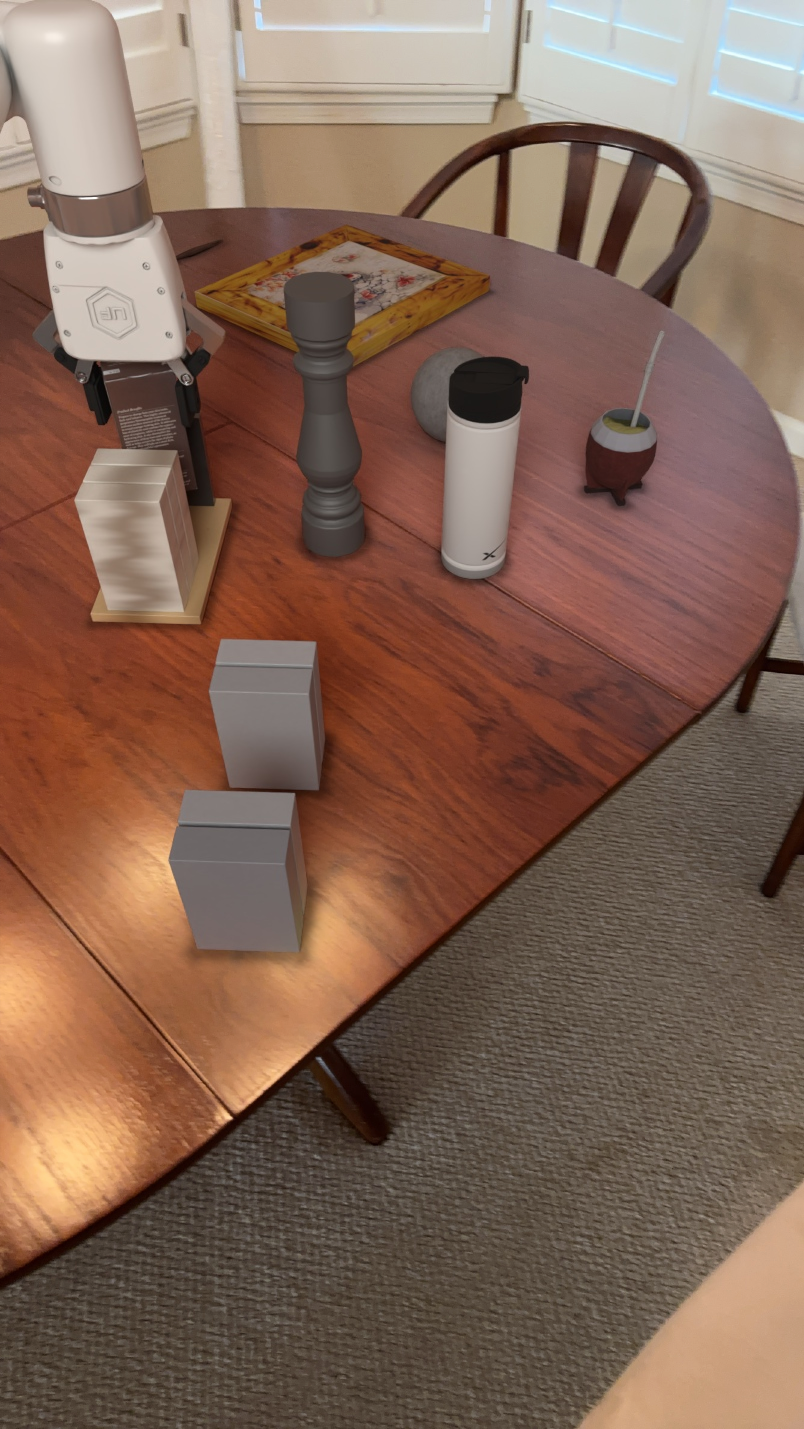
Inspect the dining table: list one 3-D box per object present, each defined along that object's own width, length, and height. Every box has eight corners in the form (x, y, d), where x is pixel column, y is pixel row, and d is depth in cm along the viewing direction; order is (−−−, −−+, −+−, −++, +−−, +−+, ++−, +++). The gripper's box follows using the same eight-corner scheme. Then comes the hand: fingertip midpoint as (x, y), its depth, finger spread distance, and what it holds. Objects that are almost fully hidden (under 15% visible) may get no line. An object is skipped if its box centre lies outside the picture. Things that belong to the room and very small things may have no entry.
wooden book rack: (92, 621, 86) (53, 503, 76) (136, 503, 98) (108, 388, 88) (201, 624, 86) (176, 506, 76) (232, 506, 98) (214, 390, 88)
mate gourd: (590, 511, 97) (615, 375, 86) (569, 468, 103) (590, 335, 91) (659, 504, 98) (693, 369, 87) (635, 462, 103) (664, 329, 92)
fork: (229, 245, 142) (227, 231, 140) (142, 278, 134) (139, 264, 132) (218, 240, 143) (216, 226, 141) (131, 273, 135) (128, 258, 134)
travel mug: (504, 584, 90) (526, 390, 75) (436, 576, 90) (444, 382, 75) (511, 544, 94) (532, 352, 79) (445, 536, 94) (454, 345, 80)
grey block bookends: (197, 949, 64) (167, 860, 56) (239, 736, 77) (220, 638, 69) (299, 953, 64) (285, 864, 56) (325, 738, 77) (316, 640, 68)
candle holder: (360, 515, 97) (351, 267, 78) (369, 553, 93) (362, 301, 74) (300, 521, 96) (277, 272, 77) (306, 560, 92) (283, 306, 73)
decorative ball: (395, 447, 105) (395, 363, 98) (431, 405, 111) (434, 322, 104) (477, 469, 102) (484, 384, 95) (511, 425, 108) (519, 341, 101)
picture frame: (490, 275, 130) (341, 355, 115) (488, 290, 132) (342, 372, 116) (346, 224, 142) (194, 291, 126) (347, 239, 143) (197, 307, 128)
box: (189, 465, 92) (167, 346, 83) (198, 491, 89) (176, 371, 80) (127, 476, 90) (97, 357, 81) (133, 503, 87) (104, 382, 78)
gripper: (-31, 223, 69) (39, 439, 82) (206, 226, 68) (238, 443, 82) (2, 185, 74) (63, 394, 87) (223, 188, 73) (250, 398, 87)
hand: (147, 416), depth 84 cm, fingers closed on box, 6 cm apart
